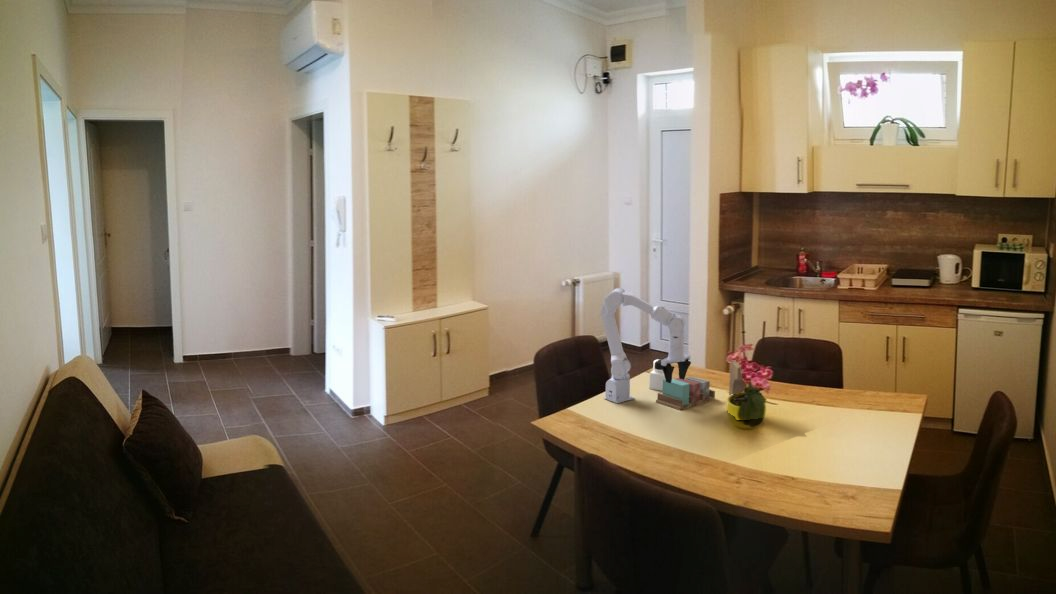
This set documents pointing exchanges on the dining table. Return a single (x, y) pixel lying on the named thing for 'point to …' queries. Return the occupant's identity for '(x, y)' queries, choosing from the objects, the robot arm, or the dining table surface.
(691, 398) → the book rack
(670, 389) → the teal book
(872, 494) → the dining table surface
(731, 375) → the decorative block
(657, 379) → the medicine bottle
